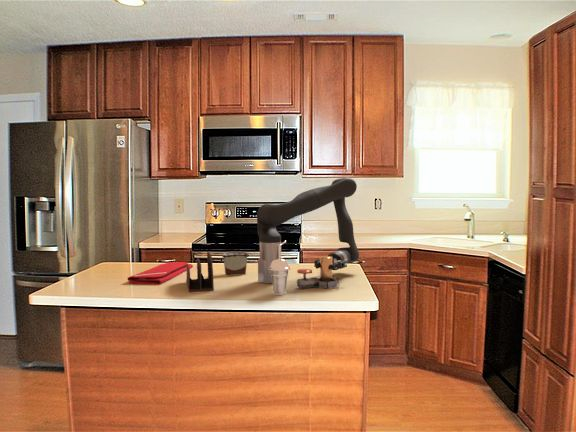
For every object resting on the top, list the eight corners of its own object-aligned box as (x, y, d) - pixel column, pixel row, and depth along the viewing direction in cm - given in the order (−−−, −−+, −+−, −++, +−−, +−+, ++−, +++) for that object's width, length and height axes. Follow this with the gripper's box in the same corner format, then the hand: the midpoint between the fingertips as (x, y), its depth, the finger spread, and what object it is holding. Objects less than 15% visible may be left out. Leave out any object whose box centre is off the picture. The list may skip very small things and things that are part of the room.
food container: (245, 271, 237) (245, 250, 236) (248, 274, 231) (248, 252, 230) (219, 273, 233) (219, 252, 232) (222, 275, 227) (222, 254, 226)
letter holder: (209, 281, 216) (209, 249, 215) (213, 291, 197) (213, 256, 196) (186, 282, 214) (185, 249, 213) (188, 292, 195) (187, 257, 194)
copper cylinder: (323, 287, 203) (324, 258, 202) (317, 285, 208) (318, 256, 207) (334, 286, 206) (334, 257, 205) (328, 284, 210) (328, 255, 209)
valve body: (303, 291, 197) (303, 272, 196) (292, 286, 205) (293, 269, 204) (340, 286, 204) (341, 269, 204) (329, 282, 213) (329, 265, 212)
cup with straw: (264, 293, 194) (263, 241, 192) (283, 290, 199) (283, 240, 197) (276, 297, 187) (276, 244, 185) (295, 294, 192) (295, 242, 190)
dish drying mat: (193, 268, 249) (193, 260, 249) (161, 285, 209) (161, 277, 208) (163, 267, 251) (163, 260, 251) (126, 284, 211) (126, 276, 211)
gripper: (321, 250, 221) (307, 256, 206) (352, 252, 216) (340, 258, 200) (321, 267, 222) (307, 274, 207) (352, 269, 216) (340, 277, 201)
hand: (324, 266), depth 204 cm, fingers open, 5 cm apart
